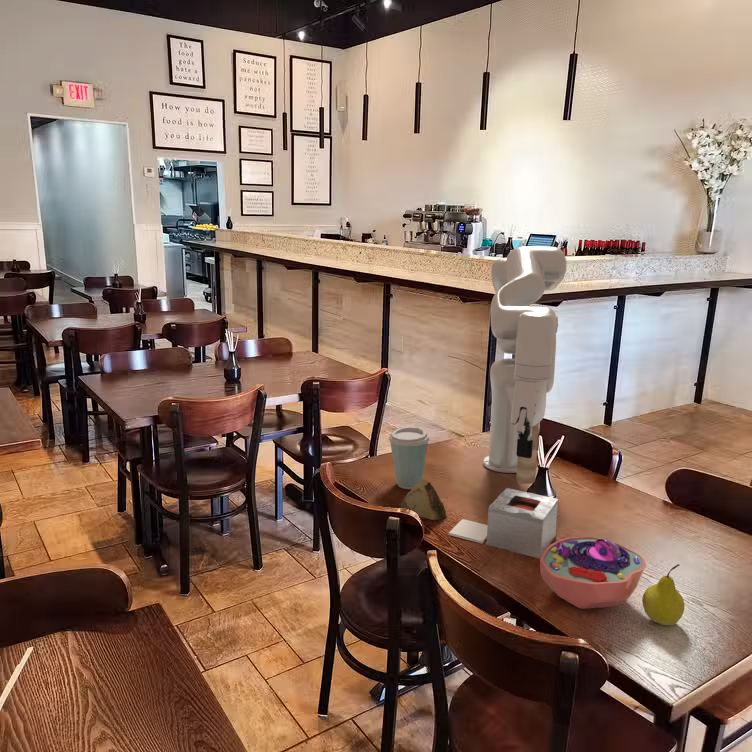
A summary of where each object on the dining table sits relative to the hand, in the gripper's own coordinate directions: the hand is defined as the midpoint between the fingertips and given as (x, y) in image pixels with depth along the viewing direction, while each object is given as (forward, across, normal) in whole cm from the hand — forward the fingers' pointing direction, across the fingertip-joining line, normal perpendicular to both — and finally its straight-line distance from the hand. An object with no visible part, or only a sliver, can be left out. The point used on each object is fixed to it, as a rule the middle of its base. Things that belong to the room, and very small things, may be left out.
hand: (527, 452), depth 142 cm
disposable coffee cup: (+21, -15, -36) cm, 44 cm away
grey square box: (+21, 0, 0) cm, 21 cm away
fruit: (+21, +17, +31) cm, 41 cm away
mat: (+21, +2, -11) cm, 24 cm away
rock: (+21, -1, -25) cm, 33 cm away
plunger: (+16, 0, 0) cm, 16 cm away
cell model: (+21, +16, +18) cm, 32 cm away
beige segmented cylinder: (+6, 0, 0) cm, 6 cm away
